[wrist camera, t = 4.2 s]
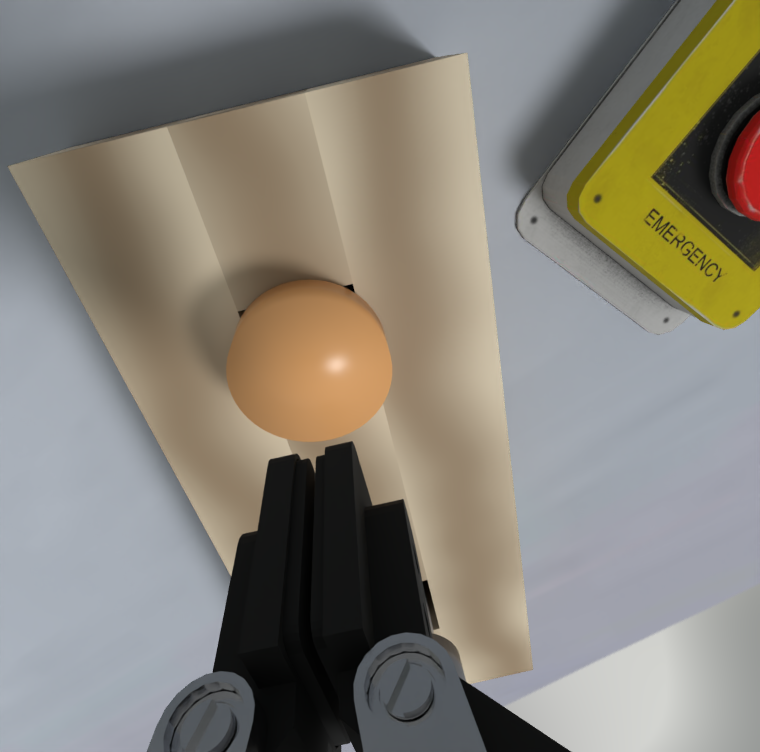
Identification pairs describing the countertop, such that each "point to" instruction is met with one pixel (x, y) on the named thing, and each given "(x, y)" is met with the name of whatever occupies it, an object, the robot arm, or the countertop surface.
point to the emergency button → (666, 176)
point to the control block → (313, 262)
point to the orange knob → (309, 361)
